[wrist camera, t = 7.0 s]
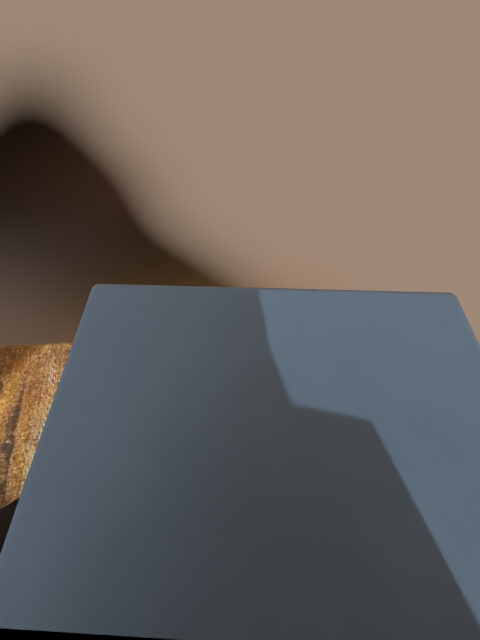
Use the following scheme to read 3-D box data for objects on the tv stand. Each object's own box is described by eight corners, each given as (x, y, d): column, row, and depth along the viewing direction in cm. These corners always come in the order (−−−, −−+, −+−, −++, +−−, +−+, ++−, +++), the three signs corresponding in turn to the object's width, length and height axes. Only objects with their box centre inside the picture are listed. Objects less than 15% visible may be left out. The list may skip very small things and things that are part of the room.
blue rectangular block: (311, 542, 10) (734, 831, 2) (177, 541, 10) (-109, 846, 2) (300, 427, 12) (465, 290, 4) (188, 425, 12) (90, 280, 4)
